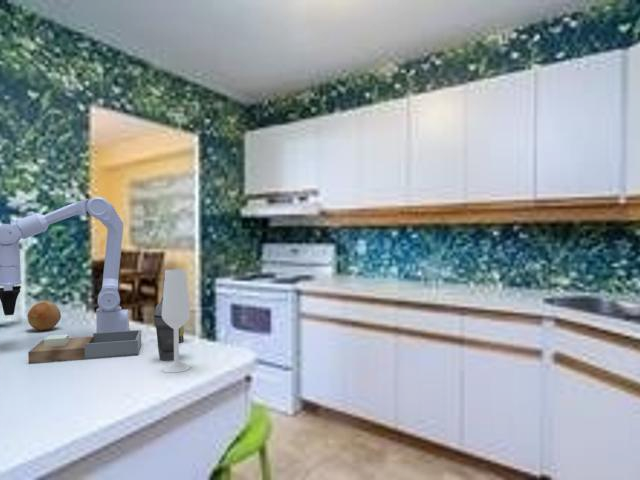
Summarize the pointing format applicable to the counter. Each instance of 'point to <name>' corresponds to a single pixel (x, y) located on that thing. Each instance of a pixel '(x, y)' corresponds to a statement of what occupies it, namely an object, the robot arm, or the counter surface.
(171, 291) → the champagne flute
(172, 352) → the beverage cup
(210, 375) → the counter surface
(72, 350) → the plate
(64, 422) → the counter surface
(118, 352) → the box
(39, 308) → the onion
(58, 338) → the tile
